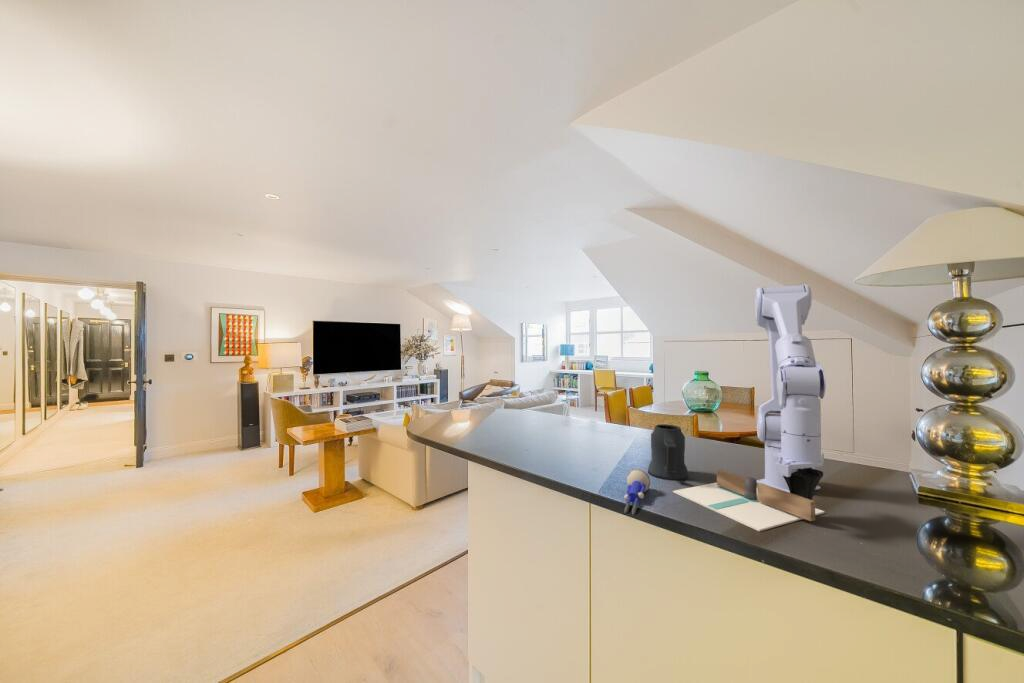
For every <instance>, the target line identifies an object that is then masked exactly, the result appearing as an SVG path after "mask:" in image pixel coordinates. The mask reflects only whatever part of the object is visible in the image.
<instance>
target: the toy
mask: <svg viewBox="0 0 1024 683" xmlns="http://www.w3.org/2000/svg"><path fill="white" fill-rule="evenodd" d="M626 481H627V490H626V494H625V495H624V496H623V498H624V500H625V501H626V502H625V507H624V509H623V510H624V511H623V512H624V514H627V513H629V511H630V510H629V509H630V506H631V503H633V505H632V508H631V514H632V516H634V515H636V514H637V508H638V504H639V500H640V499H641V500H642V499H644V497H645V494H644V492H647V490H649V488H650V486H651V479H650V476H649V473H648V472H646V471H644V470H642V469H641V468H640V469H639V468H638V469H632V470H631V471H629V473H628V474H627V477H626Z"/></svg>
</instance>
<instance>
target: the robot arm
mask: <svg viewBox="0 0 1024 683" xmlns="http://www.w3.org/2000/svg"><path fill="white" fill-rule="evenodd" d="M812 297H813V294H812V288H811V287H810V286H809V285H808V284H807V283H806V284H805V283H804V284H802V285H801V284H800V285H784V286H767V287H761V286H758V287H757V289H755V293H754V307H755V308H754V309H755V321H756V323H757V324H756V325H757V327H758V326H759V327H761V328H763V329H765V331H766V335H767V338H768V352H769V354H768V355H769V375H770V376H769V379H770V393H771V394H770V396H771V398H770V399H769V400H767V401H765V402H763V403H762V404H760V405H759V406H758V409H757V416H756V432H757V433H756V434H757V435H756V436H757V438H758V440H760V442H761V443H762V442H763V443H764V478H761V479H756V480H757V484H760V483H763V484H766V485H769V486H772V487H775V488H777V489H780V490H783V491H786V492H789V493H792V494H795V495H798V496H801V497H804V498H807V499H810V500H813V497H814V494H815V491H816V490H821V486H819V485H818V484H819V483H820V480H821V479H822V478H823V477H824V471H822V470H819V469H816V468H821V467H823V465H824V464H825V454H824V452H822V418H821V417H822V415H821V414H822V409H821V408H822V406H821V404H822V402H821V401H822V399H824V397H825V394H826V387H827V384H826V381H827V380H826V375H825V372H824V368H823V366H821V363H820V362H819V361H816V357H815V353H814V349H813V343H812V341H811V340H810V338H809V337H807V336H805V335H803V325H805V324H806V321H807V320H808V315H809V314H810V310H811V307H812V302H813V301H812V299H813V298H812Z"/></svg>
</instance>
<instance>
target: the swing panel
mask: <svg viewBox="0 0 1024 683" xmlns="http://www.w3.org/2000/svg"><path fill="white" fill-rule="evenodd" d="M757 488H758V501H760V502H762V503H765V504H767V505H770V506H773V507H775V508H778V509H780V510H783V511H785V512H788V513H791V514H793V515H796V516H798V517H801V518H804V519H803V520H806V521H808V522H814V521H816V516H815V508H816V501H815V500H813V499H812V500H810V499H807V498H804V497H801V496H798V495H795V494H792V493H789V492H786V491H783V490H780V489H777V488H775V487H772V486H769V485H766V484H763V483H760V484H758V483H757Z"/></svg>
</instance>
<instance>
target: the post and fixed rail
mask: <svg viewBox="0 0 1024 683" xmlns="http://www.w3.org/2000/svg"><path fill="white" fill-rule="evenodd" d="M757 480H758V479H756V478H754V477H747V476H742V475H738V474H735V473H732V472H730V471H727V470H723V469H722V468H721V469H717V470H716V482H717V485H718V486H720V487H723V488H726V489H728V490H731V491H733V492H736V493H739V494H741V495H744V496H745V498H746V499H748V500H757V488H758V487H757V484H758V483H757Z"/></svg>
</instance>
